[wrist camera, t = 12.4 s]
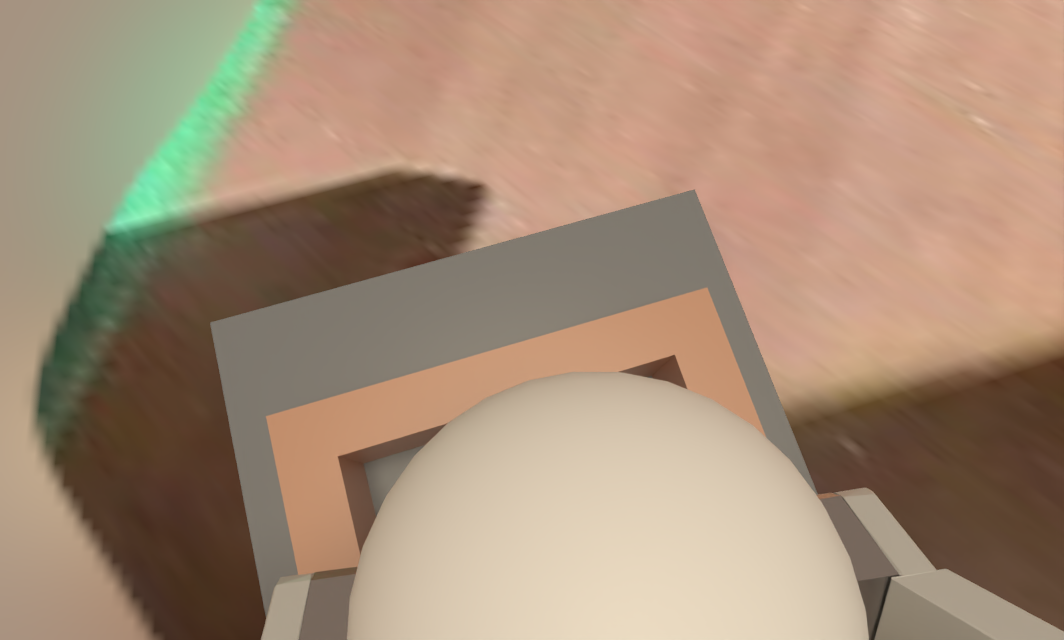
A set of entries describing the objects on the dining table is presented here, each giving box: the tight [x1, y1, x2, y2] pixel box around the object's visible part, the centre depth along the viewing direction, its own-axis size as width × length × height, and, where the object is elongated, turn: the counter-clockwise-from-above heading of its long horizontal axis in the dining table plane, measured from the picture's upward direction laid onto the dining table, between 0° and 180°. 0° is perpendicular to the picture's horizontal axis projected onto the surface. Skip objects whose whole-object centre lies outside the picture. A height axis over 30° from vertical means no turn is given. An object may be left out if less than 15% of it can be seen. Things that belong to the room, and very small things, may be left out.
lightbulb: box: [347, 372, 869, 640], centre depth 11 cm, size 6×6×11 cm
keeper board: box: [210, 190, 818, 618], centre depth 18 cm, size 20×16×4 cm
